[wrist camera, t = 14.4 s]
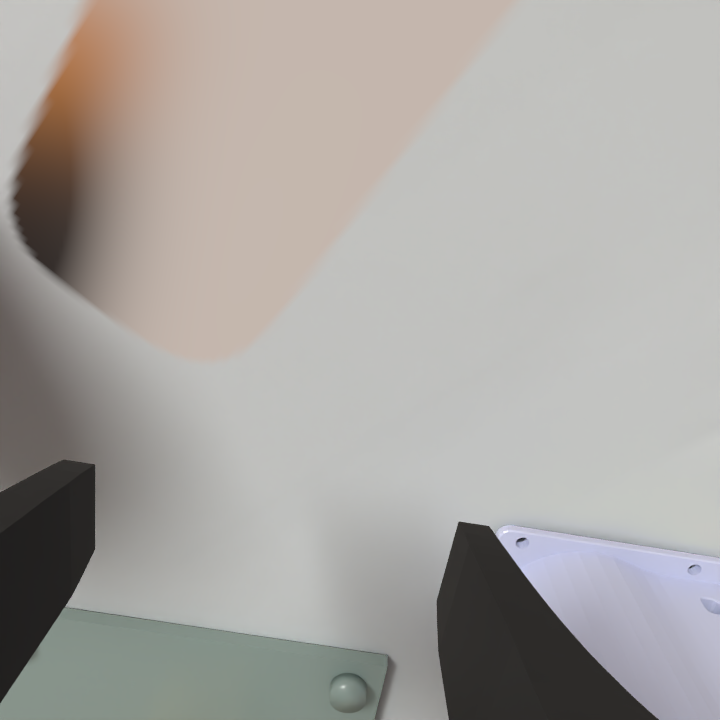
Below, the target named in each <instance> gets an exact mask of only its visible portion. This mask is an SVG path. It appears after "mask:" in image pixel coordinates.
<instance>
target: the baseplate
mask: <svg viewBox="0 0 720 720" xmlns="http://www.w3.org/2000/svg"><path fill="white" fill-rule="evenodd" d="M387 667H388V658H387V655H382V654H375V653H369V652H362V651H355V650H348V649H342V648H335V647H328V646H321V645H314V644H308V643H301V642H294V641H287V640H281V639H274V638H267V637H260V636H254V635H247V634H240V633H233V632H227V631H220V630H213V629H206V628H199V627H193V626H186V625H179V624H172V623H166V622H159V621H152V620H145V619H139V618H132V617H125V616H118V615H111V614H105V613H98V612H91V611H84V610H78V609H71V608H64V609H63V610H62V612H61V613H60V615H59V616H58V618H57V619H56V621H55V622H54V624H53V625H52V627H51V629H50V630H49V632H48V633H47V635H46V636H45V638H44V639H43V641H42V642H41V644H40V645H39V646H38V648H37V649H36V651H35V652H34V654H33V655H32V657H31V658H30V660H29V661H28V663H27V664H26V666H25V667H24V669H23V670H22V672H21V673H20V675H19V676H18V678H17V679H16V681H15V682H14V684H13V685H12V687H11V688H10V690H9V691H8V693H7V694H6V696H5V697H4V699H3V700H2V702H1V703H0V720H374V719H375V715H376V711H377V707H378V703H379V699H380V695H381V691H382V687H383V683H384V679H385V675H386V671H387Z"/></svg>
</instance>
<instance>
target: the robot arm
mask: <svg viewBox="0 0 720 720" xmlns="http://www.w3.org/2000/svg"><path fill="white" fill-rule="evenodd" d="M519 538H526V539H525V540H524V541H522V542H517V539H519ZM94 550H95V465H94V464H87V463H81V462H75V461H68V460H62V461H60V462H58V463H56V464H54V465H52V466H50V467H48V468H46V469H44V470H42V471H40V472H38V473H36V474H34V475H32V476H30V477H29V478H27V479H25V480H23V481H21V482H19V483H17V484H15V485H14V486H12V487H10V488H8V489H6V490H4V491H2V492H0V703H1V702H2V700H3V699H4V697H5V696H6V694H7V693H8V691H9V690H10V688H11V687H12V685H13V684H14V682H15V681H16V679H17V678H18V676H19V675H20V673H21V672H22V670H23V669H24V667H25V666H26V664H27V663H28V661H29V660H30V658H31V657H32V655H33V654H34V652H35V651H36V649H37V648H38V646H39V645H40V644H41V642H42V641H43V639H44V638H45V636H46V635H47V633H48V632H49V630H50V629H51V627H52V625H53V624H54V622H55V621H56V619H57V618H58V616H59V615H60V613H61V612H62V610H63V609H64V607H65V606H66V604H67V603H68V601H69V599H70V598H71V596H72V594H73V593H74V591H75V589H76V587H77V585H78V583H79V581H80V579H81V577H82V575H83V573H84V571H85V569H86V567H87V565H88V563H89V560H90V558H91V556H92V554H93V552H94ZM692 565H695V566H694V567H692V568H689V567H690V566H692ZM437 628H438V651H439V658H440V665H441V671H442V678H443V684H444V691H445V697H446V703H447V710H448V716H449V720H720V558H717V557H711V556H704V555H698V554H692V553H685V552H679V551H672V550H666V549H660V548H653V547H647V546H641V545H634V544H628V543H621V542H615V541H609V540H602V539H596V538H589V537H583V536H577V535H570V534H564V533H558V532H551V531H545V530H538V529H532V528H526V527H519V526H513V525H506V526H503V527H501V528H500V529H498V531H497V532H496V535H495V534H494V532H493V531H492V530H491V528H490V527H489V526H484V525H478V524H471V523H465V522H458V526H457V530H456V533H455V537H454V541H453V544H452V548H451V551H450V555H449V559H448V562H447V566H446V569H445V573H444V577H443V580H442V584H441V588H440V591H439V595H438V598H437Z"/></svg>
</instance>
